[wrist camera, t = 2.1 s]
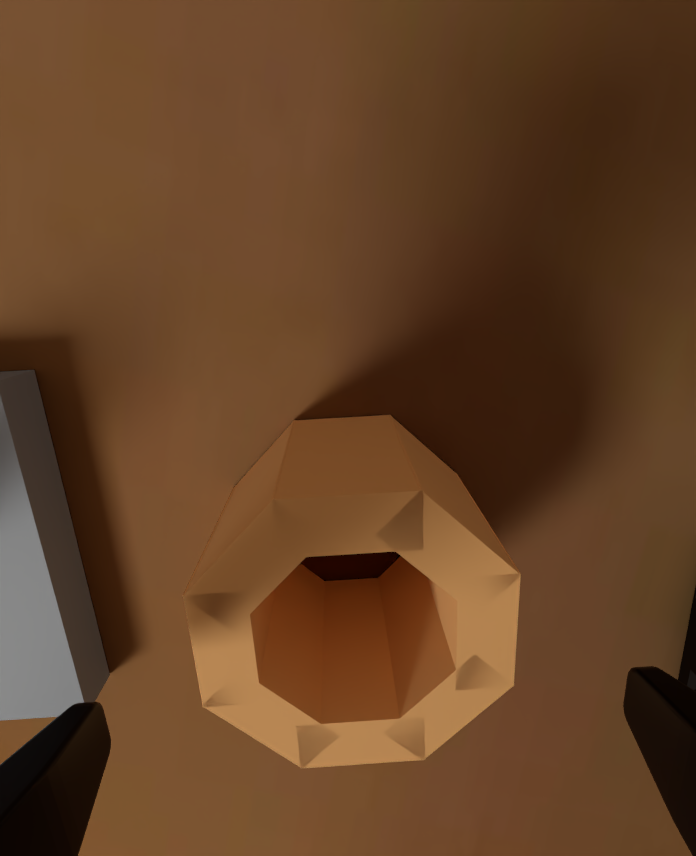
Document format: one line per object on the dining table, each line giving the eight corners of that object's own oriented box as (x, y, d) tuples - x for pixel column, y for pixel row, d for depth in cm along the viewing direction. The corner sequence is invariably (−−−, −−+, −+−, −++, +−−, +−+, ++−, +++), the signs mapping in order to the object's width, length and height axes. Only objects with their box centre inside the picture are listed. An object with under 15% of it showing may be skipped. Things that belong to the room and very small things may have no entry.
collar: (457, 410, 13) (527, 482, 9) (454, 606, 15) (509, 754, 11) (225, 424, 13) (165, 505, 9) (251, 619, 15) (214, 774, 10)
